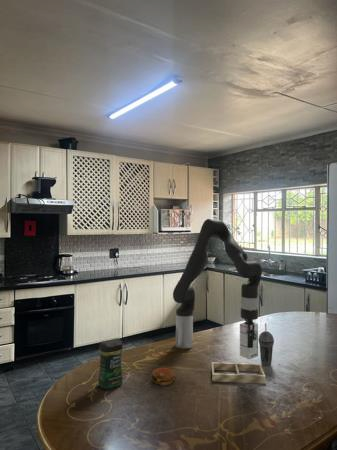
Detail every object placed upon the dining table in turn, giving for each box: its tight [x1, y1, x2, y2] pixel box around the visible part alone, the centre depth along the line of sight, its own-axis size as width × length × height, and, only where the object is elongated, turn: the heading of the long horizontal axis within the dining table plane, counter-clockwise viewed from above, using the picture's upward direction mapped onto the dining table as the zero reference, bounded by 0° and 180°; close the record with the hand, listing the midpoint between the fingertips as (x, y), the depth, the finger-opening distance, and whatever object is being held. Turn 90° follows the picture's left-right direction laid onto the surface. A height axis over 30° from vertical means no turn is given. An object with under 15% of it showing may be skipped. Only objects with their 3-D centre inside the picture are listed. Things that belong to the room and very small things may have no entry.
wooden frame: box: [211, 361, 267, 384], centre depth 152 cm, size 22×13×3 cm, turn 84°
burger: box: [151, 367, 176, 386], centre depth 147 cm, size 10×9×5 cm
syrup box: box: [239, 321, 259, 360], centre depth 152 cm, size 6×6×14 cm
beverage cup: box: [258, 322, 275, 367], centre depth 164 cm, size 7×7×20 cm
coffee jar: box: [97, 337, 124, 390], centre depth 143 cm, size 10×8×19 cm
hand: (248, 344), depth 152 cm, fingers closed on syrup box, 8 cm apart
